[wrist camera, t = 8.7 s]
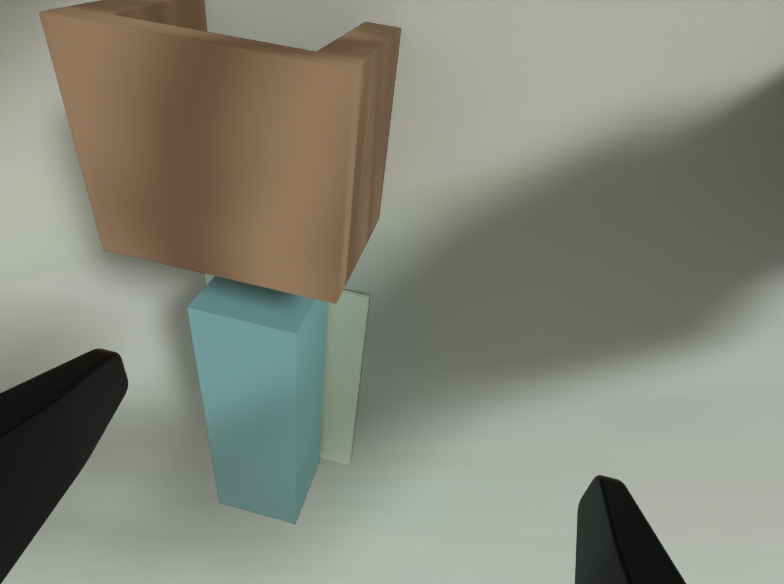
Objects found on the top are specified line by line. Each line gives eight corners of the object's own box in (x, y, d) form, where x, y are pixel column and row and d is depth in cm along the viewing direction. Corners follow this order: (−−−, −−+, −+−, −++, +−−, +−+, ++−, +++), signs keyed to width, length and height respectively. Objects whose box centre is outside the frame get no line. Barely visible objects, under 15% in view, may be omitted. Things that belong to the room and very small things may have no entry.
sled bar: (329, 275, 22) (296, 333, 19) (319, 461, 31) (295, 524, 27) (234, 253, 22) (186, 307, 19) (250, 443, 31) (219, 502, 28)
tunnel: (401, 28, 16) (352, 69, 12) (378, 218, 20) (336, 303, 16) (170, -12, 17) (38, 11, 12) (194, 179, 21) (103, 249, 17)
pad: (369, 295, 23) (368, 298, 23) (350, 462, 31) (349, 465, 31) (204, 258, 24) (202, 260, 24) (227, 430, 32) (225, 432, 31)
